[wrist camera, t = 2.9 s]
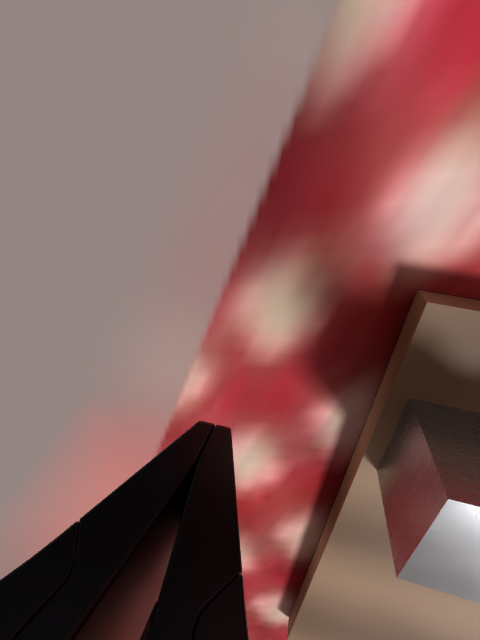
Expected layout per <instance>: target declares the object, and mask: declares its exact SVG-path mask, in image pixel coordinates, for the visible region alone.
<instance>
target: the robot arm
mask: <svg viewBox="0 0 480 640" xmlns="http://www.w3.org/2000/svg"><path fill="white" fill-rule="evenodd" d="M241 574H242V564H241V551H240V539H239V526H238V513H237V500H236V487H235V474H234V461H233V448H232V436H231V429H230V428H229V427H225V426H221V425H216V426H215V425H214V424H213V423H209V422H205V421H199V422H197V423H196V424H195V425H194V426H192V427H191V428H190V429H189V430H187V431H186V432H185V433H184V434H183V435H181V436H180V437H179V438H178V439H176V440H175V441H174V442H173V443H172V444H170V445H169V446H168V447H167V448H166V449H164V450H163V451H162V452H161V453H159V454H158V455H157V456H156V457H155V458H153V459H152V460H151V461H150V462H149V463H147V464H146V465H145V466H144V467H142V468H141V469H140V470H139V471H138V472H136V473H135V474H134V475H133V476H131V477H130V478H129V479H128V480H127V481H125V482H124V483H123V484H122V485H121V486H119V487H118V488H117V489H116V490H115V491H113V492H112V493H111V494H110V495H108V496H107V497H106V498H105V499H103V500H102V501H101V502H100V503H99V504H97V505H96V506H95V507H94V508H93V509H91V510H90V511H89V512H88V513H86V514H85V515H84V516H83V517H82V518H80V521H79V522H75V523H74V524H73V525H71V526H70V527H69V528H68V529H67V530H65V531H64V532H63V533H62V534H61V535H59V536H58V537H57V538H56V539H55V540H53V541H52V542H50V543H49V544H48V545H47V546H45V547H44V548H43V549H42V550H40V551H39V552H38V553H37V554H35V555H34V556H33V557H31V558H30V559H29V560H27V561H26V562H25V563H23V564H22V565H20V566H19V567H18V568H16V569H15V570H13V571H12V572H11V573H9V574H8V575H7V576H5V577H4V578H2V579H1V580H0V640H249V638H248V629H247V620H246V610H245V601H244V588H243V577H242V575H241ZM159 593H160V594H159ZM158 596H159V598H158ZM157 598H158V602H157V605H156V609H153V607H154V605H155V603H156V600H157Z"/></svg>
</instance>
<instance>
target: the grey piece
mask: <svg viewBox="0 0 480 640" xmlns="http://www.w3.org/2000/svg"><path fill="white" fill-rule="evenodd" d="M377 474H378V480H379V485H380V490H381V496H382V501H383V507H384V512H385V518H386V523H387V529H388V534H389V540H390V545H391V550H392V556H393V561H394V567H395V572H396V578H398V579H402V580H405V581H408V582H412V583H415V584H418V585H421V586H425V587H428V588H431V589H434V590H438V591H441V592H444V593H448V594H451V595H454V596H457V597H461V598H464V599H467V600H470V601H474V602H477V603H480V413H477V412H472V411H468V410H463V409H458V408H454V407H449V406H445V405H440V404H436V403H431V402H427V401H422V400H417V399H413V398H409V401H408V403H407V405H406V407H405V409H404V412H403V414H402V416H401V418H400V420H399V422H398V425H397V427H396V429H395V431H394V433H393V436H392V438H391V440H390V442H389V444H388V447H387V449H386V451H385V453H384V455H383V457H382V460H381V462H380V464H379V466H378V468H377Z"/></svg>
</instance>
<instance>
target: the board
mask: <svg viewBox="0 0 480 640" xmlns="http://www.w3.org/2000/svg"><path fill="white" fill-rule="evenodd" d="M409 398H413V399H417V400H422V401H427V402H431V403H436V404H440V405H445V406H449V407H454V408H458V409H463V410H468V411H472V412H477V413H480V300H475V299H469V298H463V297H457V296H452V295H446V294H440V293H434V292H428V291H422V290H417V292H416V295H415V297H414V300H413V303H412V305H411V308H410V310H409V313H408V315H407V318H406V320H405V323H404V326H403V328H402V331H401V333H400V336H399V338H398V341H397V343H396V346H395V349H394V351H393V354H392V356H391V359H390V361H389V364H388V366H387V369H386V372H385V374H384V377H383V379H382V382H381V384H380V387H379V390H378V392H377V395H376V397H375V400H374V402H373V405H372V407H371V410H370V413H369V415H368V418H367V420H366V423H365V425H364V428H363V430H362V433H361V436H360V438H359V441H358V443H357V446H356V448H355V451H354V453H353V456H352V459H351V461H350V464H349V466H348V469H347V471H346V474H345V476H344V479H343V482H342V484H341V487H340V489H339V492H338V494H337V497H336V499H335V502H334V505H333V507H332V510H331V512H330V515H329V517H328V520H327V522H326V525H325V528H324V530H323V533H322V535H321V538H320V540H319V543H318V545H317V548H316V551H315V553H314V556H313V558H312V561H311V563H310V566H309V568H308V571H307V574H306V576H305V579H304V581H303V584H302V586H301V589H300V591H299V594H298V597H297V599H296V602H295V604H294V607H293V609H292V612H291V615H290V617H289V623H288V638H287V640H480V603H477V602H474V601H470V600H467V599H464V598H461V597H457V596H454V595H451V594H448V593H444V592H441V591H438V590H434V589H431V588H428V587H425V586H421V585H418V584H415V583H412V582H408V581H405V580H402V579H398V578H396V572H395V567H394V561H393V556H392V550H391V545H390V540H389V534H388V529H387V523H386V518H385V512H384V507H383V501H382V496H381V490H380V485H379V480H378V474H377V468H378V466H379V464H380V462H381V460H382V457H383V455H384V453H385V451H386V449H387V447H388V444H389V442H390V440H391V438H392V436H393V433H394V431H395V429H396V427H397V425H398V422H399V420H400V418H401V416H402V414H403V412H404V409H405V407H406V405H407V403H408V401H409Z"/></svg>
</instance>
